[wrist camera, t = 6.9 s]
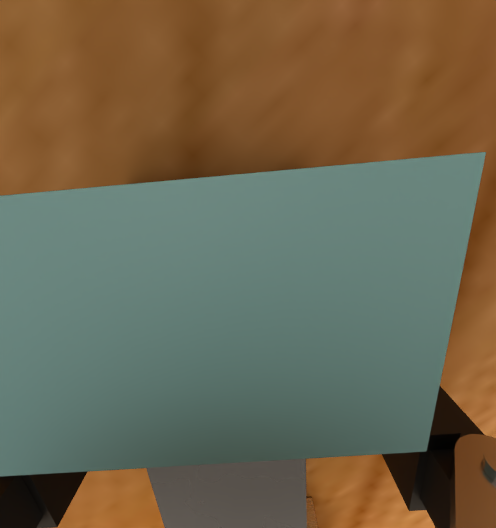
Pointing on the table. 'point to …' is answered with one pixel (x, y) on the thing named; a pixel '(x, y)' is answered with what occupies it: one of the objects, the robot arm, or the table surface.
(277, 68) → the table surface
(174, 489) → the bar
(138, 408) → the socket
